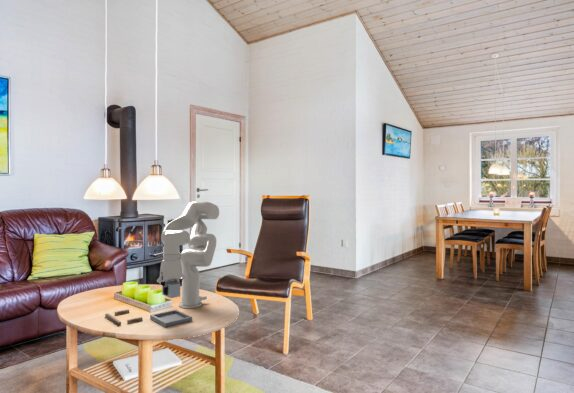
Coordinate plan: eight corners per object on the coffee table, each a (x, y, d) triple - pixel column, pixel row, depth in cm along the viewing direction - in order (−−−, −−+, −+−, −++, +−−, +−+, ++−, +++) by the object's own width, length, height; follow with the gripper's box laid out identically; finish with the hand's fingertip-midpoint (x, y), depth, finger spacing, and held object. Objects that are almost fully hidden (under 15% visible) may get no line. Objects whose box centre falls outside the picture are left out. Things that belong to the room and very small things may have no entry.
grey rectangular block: (171, 292, 206) (171, 279, 206) (180, 296, 199) (180, 282, 199) (162, 294, 203) (162, 280, 202) (170, 298, 196) (170, 283, 196)
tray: (176, 313, 212) (176, 309, 212) (192, 321, 201) (192, 317, 200) (150, 318, 203) (150, 314, 203) (165, 327, 191) (165, 323, 191)
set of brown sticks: (128, 312, 213) (128, 309, 213) (142, 320, 200) (142, 317, 200) (105, 316, 205) (105, 313, 205) (118, 325, 192) (118, 322, 192)
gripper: (183, 254, 209) (182, 289, 210) (151, 257, 198) (151, 295, 198) (190, 256, 204) (190, 292, 204) (158, 260, 192) (158, 298, 192)
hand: (171, 293), depth 201 cm, fingers closed on grey rectangular block, 5 cm apart
